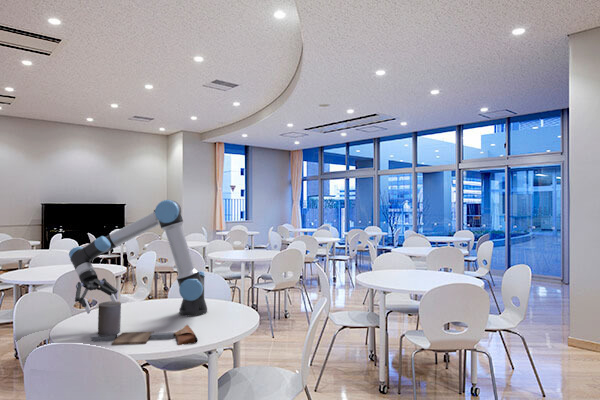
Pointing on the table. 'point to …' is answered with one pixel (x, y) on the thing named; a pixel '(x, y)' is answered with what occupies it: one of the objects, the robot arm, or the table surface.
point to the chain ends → (113, 336)
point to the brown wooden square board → (132, 338)
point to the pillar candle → (109, 317)
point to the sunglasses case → (185, 336)
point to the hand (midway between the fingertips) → (103, 308)
